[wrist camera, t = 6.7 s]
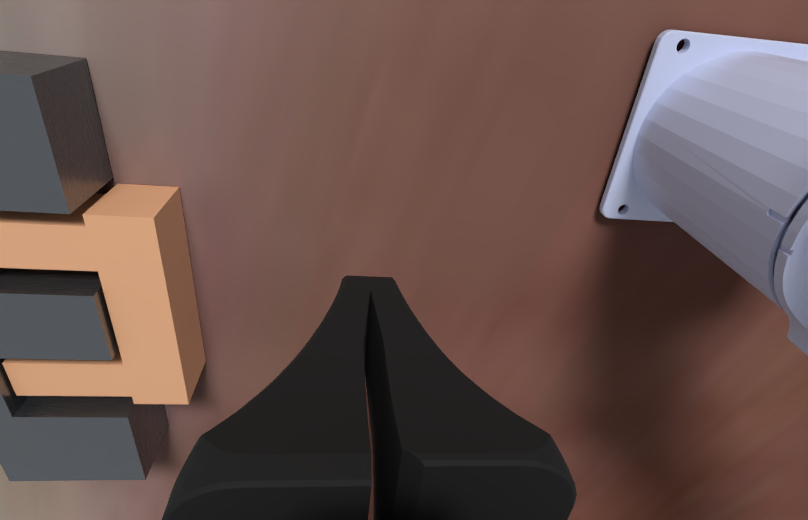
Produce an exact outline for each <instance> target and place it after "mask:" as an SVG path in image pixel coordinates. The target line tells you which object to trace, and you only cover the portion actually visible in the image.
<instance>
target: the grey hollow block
mask: <svg viewBox="0 0 808 520" xmlns="http://www.w3.org/2000/svg"><path fill="white" fill-rule="evenodd" d="M112 178H113V176H112V172H111V167H110V163H109V158H108V154H107V150H106V145H105V141H104V136H103V132H102V127H101V123H100V118H99V114H98V110H97V105H96V101H95V96H94V92H93V87H92V83H91V78H90V74H89V69H88V65H87V61H86V58H77V57H66V56H54V55H43V54H31V53H20V52H9V51H0V211H17V212H37V213H56V214H71V213H72V212H73V211H74V210H75V209H77V208H78V207H79V206H80V205H81V204H83V203H84V202H85V201H86V200H87V199H88V198H90V197H91V196H92V195H93V194H94V193H96V192H97V191H98V190H99V189H100V188H101V187H103V186H104V185H105V184H106V183H107V182H109V181H110V180H111V179H112ZM118 350H119V347H118V344H117V340H116V336H115V333H114V329H113V325H112V322H111V318H110V314H109V311H108V307H107V303H106V299H105V296H104V292H103V288H102V285H101V281H100V277H99V274H98V271H73V270H46V269H19V268H0V464H1V466H2V467H3V469H4V471H5V473H6V475H7V477H8V479H9V481H60V480H146V477H147V475H148V472H149V470H150V468H151V465H152V463H153V461H154V458H155V456H156V453H157V451H158V449H159V446H160V444H161V442H162V439H163V437H164V434H165V432H166V430H167V427H168V421H167V417H166V412H165V408H164V404H134V403H133V399H132V397H124V396H16V393H15V391H14V389H13V387H12V384H11V382H10V380H9V378H8V375H7V373H6V371H5V368H4V366H3V364H2V363H3V362H4V361H5V359H57V360H112V359H113V357H114V356H115V354H116V353H117V351H118Z"/></svg>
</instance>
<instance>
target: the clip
mask: <svg viewBox="0 0 808 520" xmlns="http://www.w3.org/2000/svg"><path fill="white" fill-rule="evenodd" d="M0 268H19V269H46V270H73V271H98V274H99V277H100V281H101V285H102V288H103V292H104V296H105V299H106V303H107V307H108V311H109V314H110V318H111V322H112V325H113V329H114V333H115V336H116V340H117V344H118V347H119V350H118V351H117V353H116V354H115V356H114V357H113V359H112V360H57V359H5V361H4V362H3V363H2V364H3V366H4V368H5V371H6V373H7V375H8V378H9V380H10V382H11V384H12V387H13V389H14V391H15V393H16V396H124V397H132V399H133V403H134V404H189V402H190V400H191V397H192V395H193V392H194V390H195V387H196V385H197V382H198V379H199V377H200V374H201V372H202V369H203V367H204V364H205V362H206V360H205V353H204V346H203V340H202V333H201V327H200V320H199V314H198V307H197V301H196V294H195V288H194V281H193V274H192V268H191V261H190V255H189V248H188V242H187V235H186V229H185V222H184V216H183V209H182V202H181V196H180V189H179V187H168V186H150V185H133V184H116V185H115V186H114V187H113V188H112V189H111V190H110V191H108V192H107V193H106V194H101V193H94V194H93V195H92V196H91V197H90V198H88V199H87V200H86V201H85V202H84V203H83V204H81V205H80V206H79V207H78V208H77V209H75V210H74V211H73V212H72V213H71V214H56V213H37V212H17V211H0Z"/></svg>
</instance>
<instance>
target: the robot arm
mask: <svg viewBox="0 0 808 520" xmlns="http://www.w3.org/2000/svg"><path fill="white" fill-rule="evenodd" d="M682 39H683V40H684V46H683V47H682V49H681V50H679V51H677V49H676V48H677V44H678V43H679V41H681V40H682ZM622 205H625V207H624V209H622V210H621V211H618V209H619V207H620V206H622ZM599 209H600V212H601V213H602V214H603V215H604V216H605V217H606V218H612V219H629V220H647V221H664V222H675V223H676V224H677V225H678V226H679V227H681V228H682V229H683V230H684V231H686V232H687V233H688V234H689V235H691V236H692V237H693V238H694V239H696V240H697V241H698V242H699V243H701V244H702V245H703V246H704V247H706V248H707V249H708V250H709V251H711V252H712V253H713V254H714V255H715V256H717V257H718V258H719V259H720V260H722V261H723V262H724V263H725V264H727V265H728V266H729V267H730V268H732V269H733V270H734V271H735V272H737V273H738V274H739V275H740V276H742V277H743V278H744V279H745V280H747V281H748V282H749V283H750V284H752V285H753V286H754V287H755V288H756V289H758V290H759V291H760V292H761V293H763V294H764V295H765V296H766V297H768V298H769V299H770V300H771V301H773V302H774V303H775V304H776V305H778V306H779V307H780V308H781V309H783V310H784V311H785V312H786V313H787V315H788V317H789V321H790V329H789V332H788V336H787V339H789V340H790V341H791V342H792V343H793V344H794V345H795V346H797V347H798V348H799V349H800V350H801V351H802V352H804V353H805V354H806V355H807V356H808V44H800V43H791V42H782V41H773V40H763V39H754V38H745V37H736V36H726V35H717V34H708V33H699V32H690V31H680V30H666V31H664V32H662V33H661V34H660V35H659V36H658V37H657V39H656V41H655V43H654V46H653V49H652V52H651V55H650V58H649V61H648V64H647V66H646V69H645V72H644V75H643V78H642V81H641V84H640V87H639V90H638V93H637V96H636V99H635V102H634V105H633V108H632V111H631V114H630V117H629V120H628V123H627V126H626V129H625V132H624V135H623V138H622V141H621V144H620V147H619V150H618V153H617V156H616V159H615V162H614V165H613V168H612V171H611V174H610V177H609V180H608V183H607V186H606V189H605V191H604V194H603V197H602V200H601V203H600V208H599ZM365 378H366V387H367V397H368V406H369V415H370V424H371V433H372V444H373V478H374V520H567V519H568V517H569V515H570V513H571V511H572V509H573V506H574V503H575V499H576V495H577V494H576V488H575V483H574V481H573V479H572V476H571V474H570V471H569V469H568V467H567V465H566V463H565V461H564V459H563V457H562V455H561V453H560V451H559V449H558V448H557V446H556V444H555V442H554V441H553V439H552V437H551V435H550V434H548V433H547V432H545V431H543V430H542V429H540V428H538V427H537V426H535V425H533V424H532V423H530V422H528V421H527V420H525V419H523V418H522V417H520V416H518V415H517V414H515V413H513V412H512V411H511V410H509V409H508V408H506V407H505V406H503V405H502V404H501V403H499V402H498V401H496V400H495V399H494V398H492V397H491V396H490V395H488V394H487V393H486V392H484V391H483V390H482V389H481V388H480V387H478V386H477V385H476V384H475V383H474V382H473V381H471V380H470V379H469V378H468V377H467V376H465V375H464V374H463V373H462V372H461V371H460V370H459V369H458V368H457V367H456V366H455V365H454V364H453V363H452V362H451V361H450V360H449V359H448V358H447V357H446V355H445V354H444V353H443V352H442V351H441V350H440V349H439V347H438V346H437V345H436V344H435V343H434V341H433V340H432V339H431V337H430V336H429V335H428V334H427V332H426V331H425V330H424V328H423V327H422V325H421V324H420V323H419V321H418V320H417V318H416V317H415V315H414V314H413V312H412V311H411V309H410V308H409V306H408V304H407V303H406V301H405V299H404V297H403V296H402V294H401V292H400V290H399V288H398V286H397V284H396V282H395V280H394V279H393V278H392V277H367V276H345V277H344V278H343V279H342V281H341V285H340V288H339V291H338V293H337V295H336V297H335V300H334V302H333V304H332V305H331V307H330V309H329V311H328V312H327V314H326V316H325V318H324V319H323V321H322V323H321V324H320V326H319V327H318V328H317V330H316V331H315V333H314V334H313V336H312V337H311V339H310V340H309V341H308V343H307V344H306V345H305V346H304V348H303V349H302V350H301V351H300V353H299V354H298V355H297V356H296V357H295V359H294V360H293V361H292V362H291V363H290V364H289V365H288V366H287V367H286V368H285V369H284V370H283V371H282V372H281V373H280V374H279V376H278V377H277V378H276V379H275V380H274V381H272V382H271V383H270V384H269V385H268V386H267V387H266V388H265V389H264V390H263V391H261V392H260V393H259V394H258V395H257V396H255V397H254V398H253V399H252V400H251V401H249V402H248V403H247V404H246V405H245V406H243V407H242V408H241V409H240V410H238V411H237V412H236V413H234V414H233V415H231V416H230V417H228V418H227V419H226V420H224V421H223V422H221V423H220V424H218V425H217V426H215V427H214V428H212V429H211V430H209V431H208V432H206V433H205V434H203V435H201V436H200V438H199V439H198V441H197V443H196V444H195V446H194V448H193V449H192V451H191V453H190V454H189V456H188V458H187V460H186V462H185V464H184V466H183V468H182V470H181V471H180V474H179V476H178V478H177V480H176V482H175V484H174V487H173V489H172V492H171V495H170V498H169V501H168V504H167V507H166V509H165V512H164V515H163V518H162V520H368V513H369V503H370V493H371V450H370V441H369V430H368V418H367V404H366V388H365Z"/></svg>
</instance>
